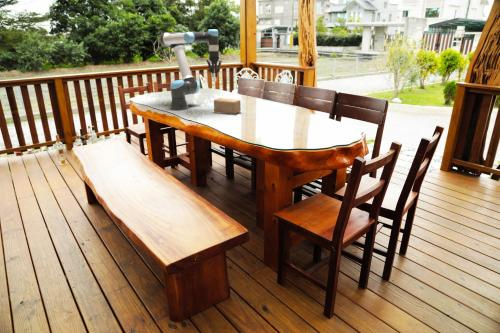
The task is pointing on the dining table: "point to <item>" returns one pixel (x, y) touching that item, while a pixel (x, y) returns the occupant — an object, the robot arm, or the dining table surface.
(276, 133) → the dining table surface
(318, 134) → the dining table surface
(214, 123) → the dining table surface
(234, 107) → the wooden block
